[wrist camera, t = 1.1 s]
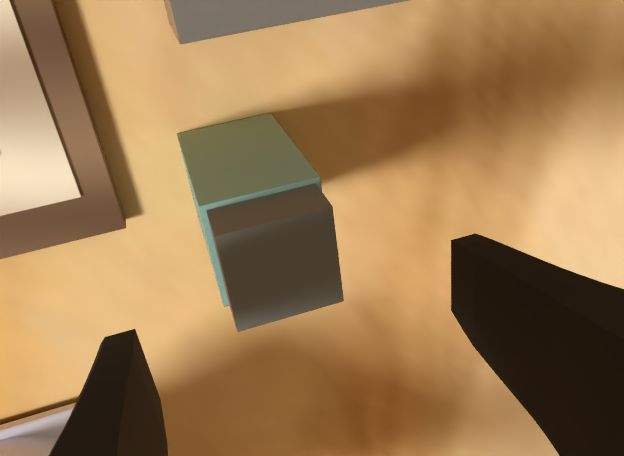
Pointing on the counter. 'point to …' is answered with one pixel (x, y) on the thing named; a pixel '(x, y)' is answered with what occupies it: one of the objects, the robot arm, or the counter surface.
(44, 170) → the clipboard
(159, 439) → the robot arm
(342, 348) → the counter surface
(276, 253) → the block
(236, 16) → the button housing
